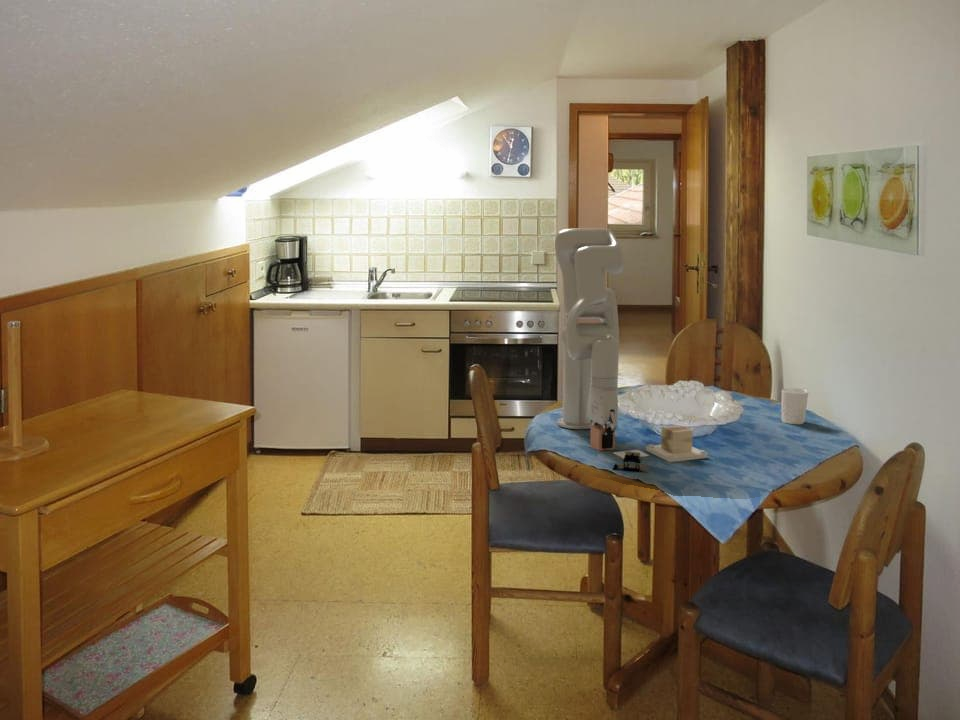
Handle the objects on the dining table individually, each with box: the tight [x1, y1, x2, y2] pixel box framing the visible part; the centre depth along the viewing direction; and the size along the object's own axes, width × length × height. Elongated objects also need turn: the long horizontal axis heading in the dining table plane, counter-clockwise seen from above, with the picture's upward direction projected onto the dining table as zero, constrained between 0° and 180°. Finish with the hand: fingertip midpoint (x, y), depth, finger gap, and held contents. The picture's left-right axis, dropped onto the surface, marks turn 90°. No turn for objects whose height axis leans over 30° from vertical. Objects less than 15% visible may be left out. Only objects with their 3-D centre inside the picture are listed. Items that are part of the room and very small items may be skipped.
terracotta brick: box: [589, 425, 616, 452], centre depth 268 cm, size 5×5×6 cm
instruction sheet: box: [612, 449, 650, 460], centre depth 262 cm, size 6×8×1 cm
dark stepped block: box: [612, 452, 651, 474], centre depth 249 cm, size 12×7×5 cm, turn 74°
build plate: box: [645, 444, 708, 463], centre depth 262 cm, size 12×12×2 cm
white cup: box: [780, 387, 809, 425], centre depth 297 cm, size 8×8×10 cm
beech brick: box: [660, 424, 694, 454], centre depth 262 cm, size 6×6×6 cm
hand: (602, 444), depth 268 cm, fingers closed on terracotta brick, 5 cm apart
